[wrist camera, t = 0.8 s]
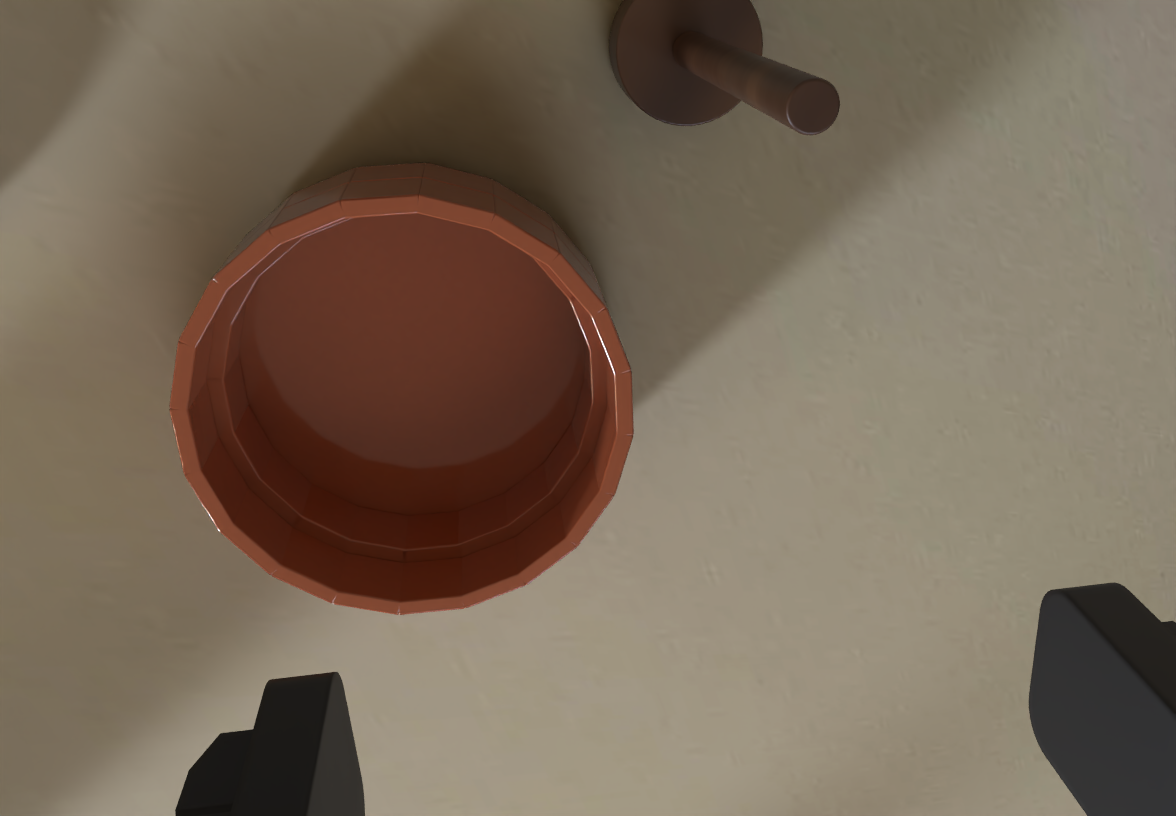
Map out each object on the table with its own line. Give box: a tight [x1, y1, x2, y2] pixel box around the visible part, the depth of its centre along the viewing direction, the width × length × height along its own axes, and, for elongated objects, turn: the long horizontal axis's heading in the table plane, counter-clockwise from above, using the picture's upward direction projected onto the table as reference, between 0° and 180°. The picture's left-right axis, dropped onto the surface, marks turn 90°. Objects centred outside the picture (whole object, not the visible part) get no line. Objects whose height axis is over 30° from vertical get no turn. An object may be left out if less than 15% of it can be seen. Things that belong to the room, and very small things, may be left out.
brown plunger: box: [609, 0, 840, 135], centre depth 30 cm, size 5×5×16 cm
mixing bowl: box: [169, 163, 634, 615], centre depth 38 cm, size 15×15×6 cm
